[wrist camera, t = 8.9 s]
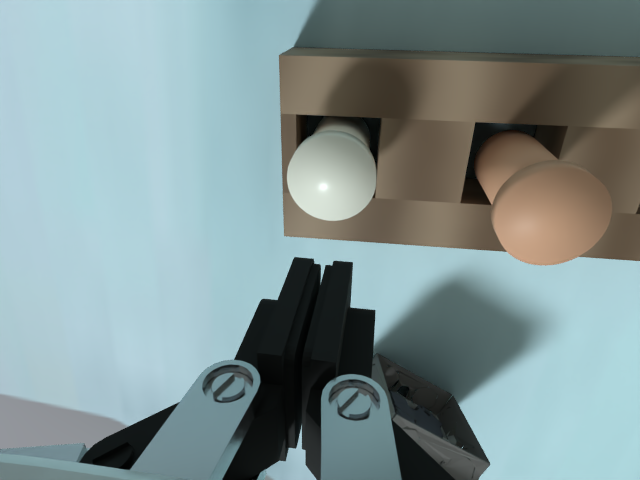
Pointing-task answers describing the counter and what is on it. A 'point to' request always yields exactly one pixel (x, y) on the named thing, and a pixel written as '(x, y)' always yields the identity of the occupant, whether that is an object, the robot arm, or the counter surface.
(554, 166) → the plug terracotta
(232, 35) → the counter surface
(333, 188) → the plug ivory
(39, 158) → the counter surface
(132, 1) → the counter surface
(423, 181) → the socket board
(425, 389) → the electrical switch
